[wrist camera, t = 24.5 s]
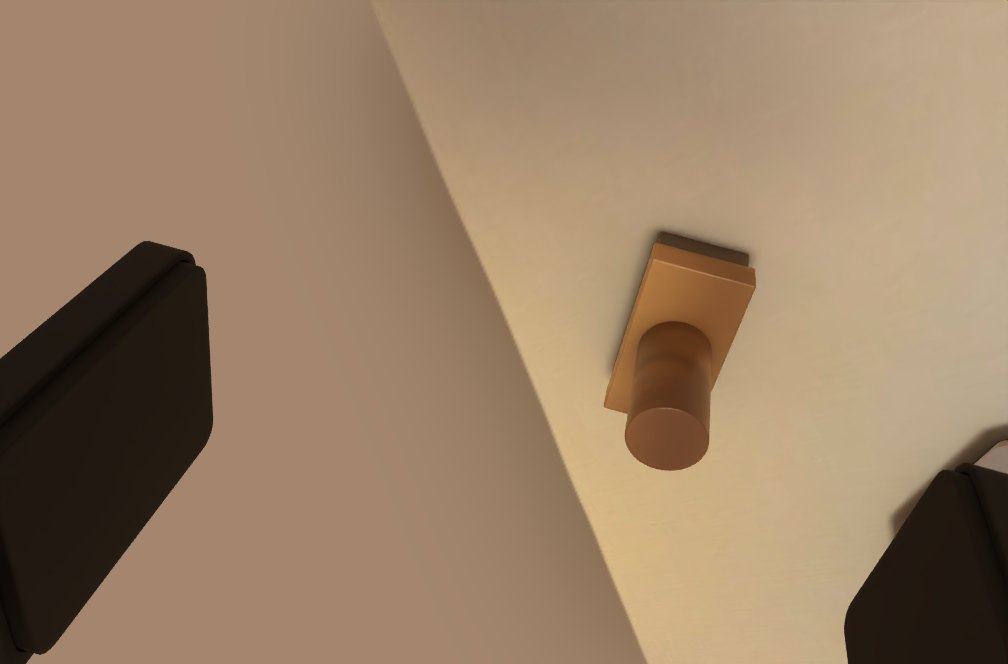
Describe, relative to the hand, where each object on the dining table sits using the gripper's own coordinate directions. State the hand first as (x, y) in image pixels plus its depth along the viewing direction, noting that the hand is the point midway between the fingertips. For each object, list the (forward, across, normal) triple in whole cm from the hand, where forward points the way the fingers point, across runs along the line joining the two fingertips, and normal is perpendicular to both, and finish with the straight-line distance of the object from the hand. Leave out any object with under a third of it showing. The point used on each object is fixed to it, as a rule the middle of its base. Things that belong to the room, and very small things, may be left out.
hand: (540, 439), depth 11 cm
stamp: (+26, -4, +14) cm, 30 cm away
